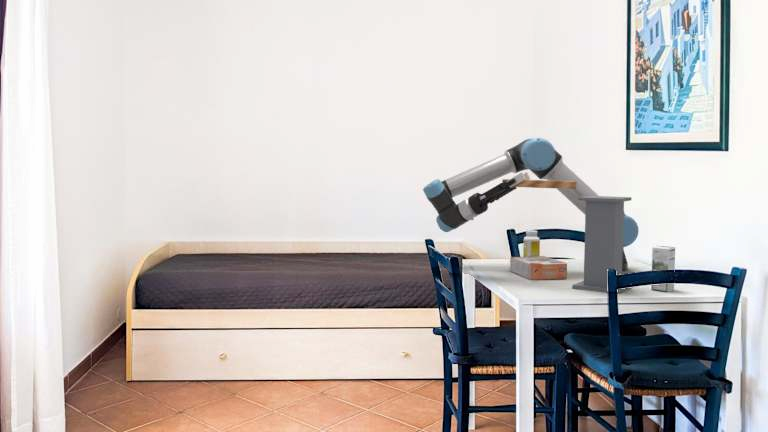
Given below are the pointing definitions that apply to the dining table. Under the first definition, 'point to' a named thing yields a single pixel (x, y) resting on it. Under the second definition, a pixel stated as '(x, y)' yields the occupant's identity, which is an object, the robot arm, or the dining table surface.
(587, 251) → the gray pedestal stand
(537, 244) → the supplement bottle
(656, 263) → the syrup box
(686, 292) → the dining table surface
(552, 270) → the cracker box
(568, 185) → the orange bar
